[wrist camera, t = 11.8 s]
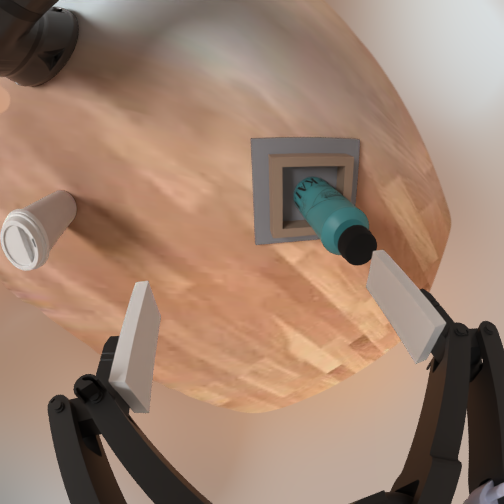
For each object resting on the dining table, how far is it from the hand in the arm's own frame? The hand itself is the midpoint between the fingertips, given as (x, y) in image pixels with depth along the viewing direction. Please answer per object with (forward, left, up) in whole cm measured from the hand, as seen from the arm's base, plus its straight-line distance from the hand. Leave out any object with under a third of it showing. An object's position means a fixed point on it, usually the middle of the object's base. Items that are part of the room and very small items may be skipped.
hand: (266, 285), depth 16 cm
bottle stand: (+4, +12, -31) cm, 33 cm away
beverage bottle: (+4, +12, -30) cm, 33 cm away
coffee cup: (+2, -32, -31) cm, 44 cm away
